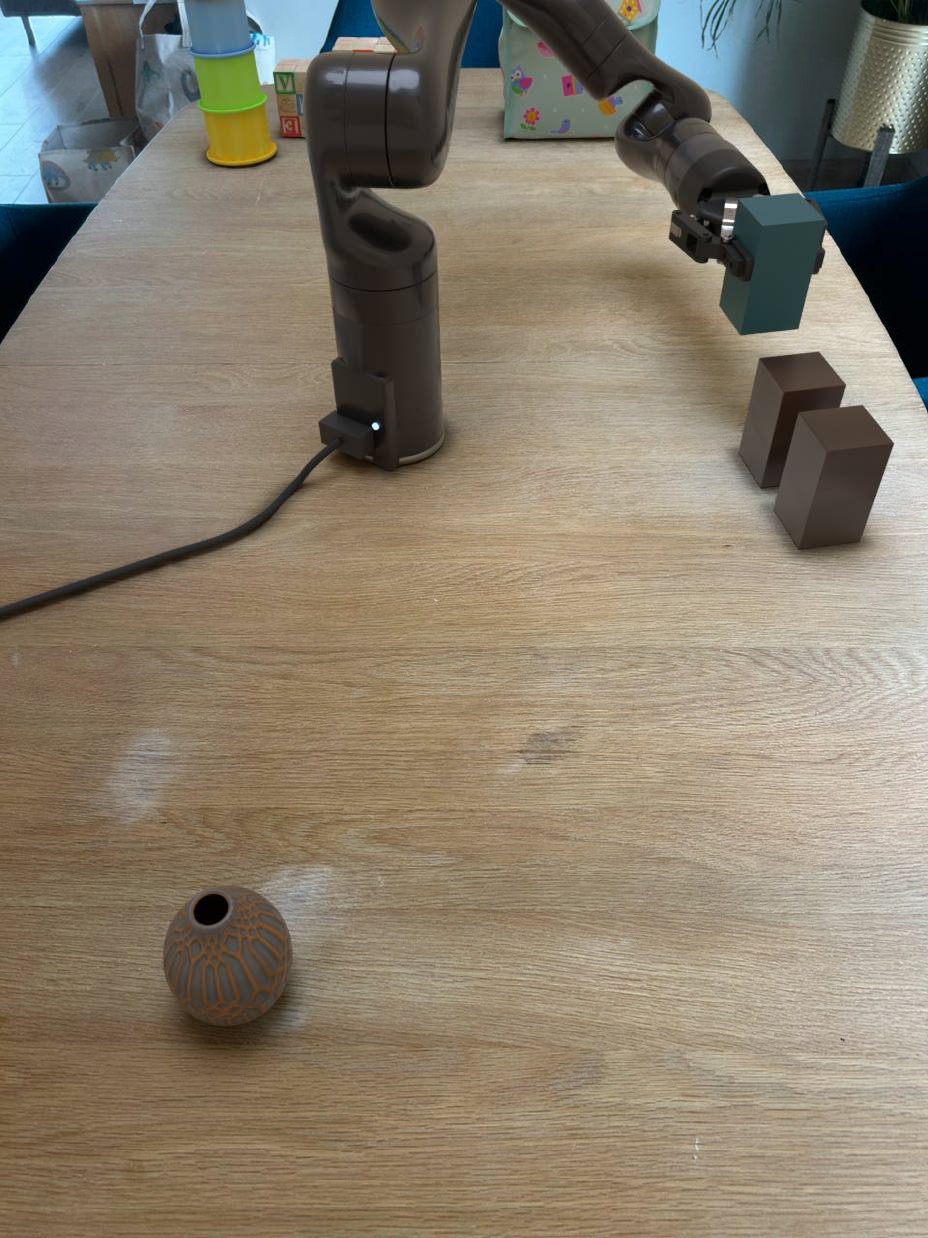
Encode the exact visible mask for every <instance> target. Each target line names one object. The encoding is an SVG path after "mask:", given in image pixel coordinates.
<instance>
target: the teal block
mask: <svg viewBox="0 0 928 1238" xmlns="http://www.w3.org/2000/svg"><path fill="white" fill-rule="evenodd" d="M804 198H805V197H804V196H802V194H801V193H799V192H792V193H782V194H771V195H770V196H759V197H748V198H738V202H737V208H736V213H735V219H734V225H733V232H734V233H735V239H734V240H738V239H739V240H740V242H741V243H742V244H743V245H744V246H745V248H746V249H747V250H748V251H749V252H750V254H751V255H752V256H753V258H754V265H753V270H752V275H751V279H750V281H746V282H741V281H740V280H739V279H738V277H735V276H733V275H731V274H730V272H729V271H728V270H727V269H726V268H725V269H724V275H723V281H722V288H721V292H720V298H719V302H718V306H719V308H720V310H721V311H722V312H723V313H724V315H725V316H726V318H727V319H728V321H729V322H730V323H731V325H732V326H733V328H734V329H735V330H736V332H737V333H738V334H739V336H750V335H759V334H767V333H778V332H785V331H795V330H799V329H800V325H801V321H802V316H803V314H804V313H803V312H804V308H805V304H806V300H807V296H808V293H809V288H810V284H811V280H812V276H813V275H812V272H813V268H814V264H815V260H816V256H817V252H818V248H819V244H820V240H821V236H822V231H823V227H824V223H825V219H826V218H825V217H824V218H825V219H824V218H823V217H822V216H821V215H820V214H819V213H818V212H817V211H816V210H815V209H814V208H813V207H812V206H811V205H810V204H809V203H808V202H807V201H806V200H805V199H804Z"/></svg>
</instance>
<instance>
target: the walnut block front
mask: <svg viewBox="0 0 928 1238" xmlns="http://www.w3.org/2000/svg"><path fill="white" fill-rule="evenodd" d="M894 446H895V442H894V441H893V440H892V438H890V436H889V434H887V432H885V430H884V429H883V428H882V427H881V425H880V424H879V423H878V421H876V419H875V418H874V417H873V416H872V414H871V413H870V412H869V411H868V409H867V408H866V407H865V406H864V405H863V404H858V405H847V406H840V407H839V408H831V409H822V410H813V411H804V412H799V413H798V417H797V421H796V425H795V429H794V433H793V436H792V440H791V444H790V448H789V452H788V456H787V459H786V463H785V467H784V471H783V475H782V479H781V482H780V486H778V491H777V493H776V499H775V502H774V506H773V510H774V512H775V513H776V516H777V517H778V519H779V520H780V522H781V523H782V525H783V526H784V529H785V530H786V532H787V533H788V535H789V536H790V538H791V539H792V541H793V543H794V544H795V546H796V548H797V549H798V550H805V549H806V550H807V549H814V548H820V547H827V546H836V545H843V544H850V543H851V544H852V543H858V542H861V540H862V538H863V536H864V535H863V534H864V531H865V529H866V526H867V523H868V520H869V518H870V514H871V511H872V509H873V507H874V506H873V505H874V502H875V500H876V498H877V494H878V492H879V489H880V486H881V484H882V483H881V482H882V481H883V477H884V475H885V471H886V468H887V465H888V463H889V461H890V457H891V455H892V453H893V449H894Z"/></svg>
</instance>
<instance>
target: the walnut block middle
mask: <svg viewBox="0 0 928 1238" xmlns="http://www.w3.org/2000/svg"><path fill="white" fill-rule="evenodd" d="M846 388H847V384H846V383H845V381H844V380H843V379H842V378H841V376H840V375H839V374H838V373H837V372H836V370H835V369H834V368H833V366H832V365H831V364H830V362H828V361H827V359H826V358H825V357H824V355H823V354H822V353H821V352H820V351H810V352H809V351H808V352H801V353H800V352H799V353H792V354H783V355H774V356H773V355H772V356H764V357H759V358H758V361H757V365H756V371H755V375H754V380H753V385H752V389H751V394H750V399H749V403H748V408H747V412H746V417H745V420H744V421H745V422H744V425H743V430H742V435H741V439H740V444H739V449H738V454H739V456H740V458H741V459H742V461H743V463H744V464H745V466H746V467H747V468H748V470H749V472H750V473H751V475H752V477H753V478H754V480H755V482H756V483H757V485H758V486H759V488H760V489H763V488H772V487H779V486H780V482H781V479H782V475H783V471H784V467H785V463H786V459H787V456H788V452H789V448H790V444H791V440H792V436H793V433H794V429H795V425H796V421H797V417H798V413H799V412H804V411H813V410H822V409H831V408H839V407H841V404H842V401H843V398H844V395H845V390H846Z"/></svg>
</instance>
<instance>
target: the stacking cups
mask: <svg viewBox="0 0 928 1238" xmlns="http://www.w3.org/2000/svg"><path fill="white" fill-rule="evenodd" d="M183 3H184V10H185V15H186V20H187V26H188V30H189V36H190V41H191V42H190V43H191V46H190V47H189V48H188V52H189V55H190V56H192V57H193V62H194V68H195V73H196V79H197V83H198V89H199V93H200V94H199V95H200V99H199V100H198V102H197V107H198V109H199V110H200V111H201V112H202V113H203V118H204V123H205V129H206V135H207V140H208V144H209V148H208V150H207V151H206V158H207V159H208V161H210V162H211V163H213V164H216V165H221V166H231V167H235V166H236V167H238V166H239V167H240V166H248V165H254V164H257V163H261V162H264V161H267V160H268V159H271V158H272V157H273V156H274V155H276V153H277V151H278V146H277V145H276V143H275V142H274V141H272V139H271V135H270V133H271V132H270V128H269V122H268V116H267V111H266V103H267V102H268V96H267V94H266V93H264V92H262V87H261V83H260V78H259V73H258V67H257V66H258V65H257V61H256V55H255V49H256V47H257V44H256V42H255V41H254V40H253V39H252V38H251V37H252V36H251V31H250V26H249V25H250V24H249V20H248V15H247V9H246V3H245V0H183Z"/></svg>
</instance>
